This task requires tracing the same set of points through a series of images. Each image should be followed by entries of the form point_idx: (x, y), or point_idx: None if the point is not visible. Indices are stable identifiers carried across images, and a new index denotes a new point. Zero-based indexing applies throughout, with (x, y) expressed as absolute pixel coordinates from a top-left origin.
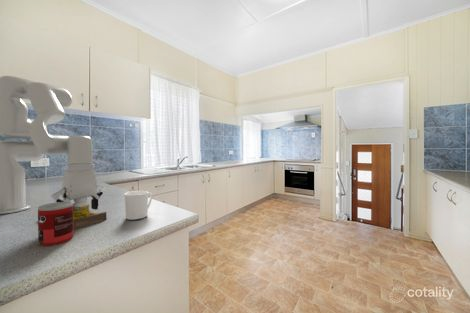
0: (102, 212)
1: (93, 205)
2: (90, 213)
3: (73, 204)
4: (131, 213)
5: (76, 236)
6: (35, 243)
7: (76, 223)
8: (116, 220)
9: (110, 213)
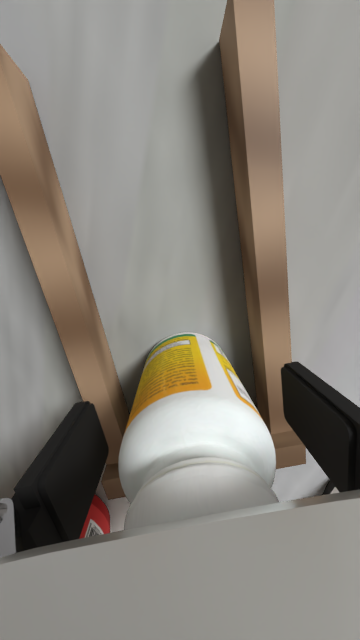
0: (288, 455)
1: (301, 413)
2: (260, 336)
3: (126, 493)
4: None
5: (122, 523)
6: (4, 495)
7: None
8: (297, 467)
9: (356, 332)
